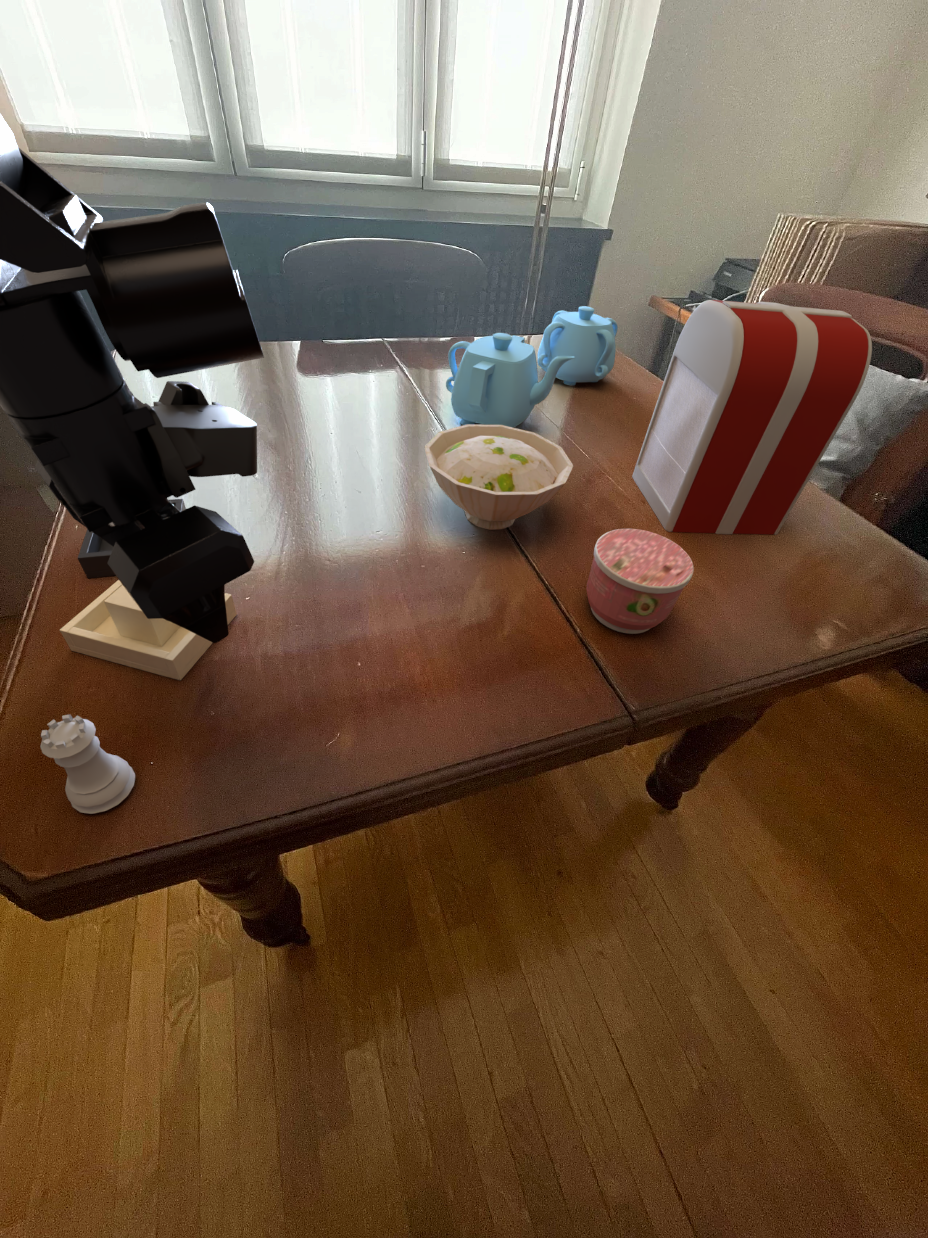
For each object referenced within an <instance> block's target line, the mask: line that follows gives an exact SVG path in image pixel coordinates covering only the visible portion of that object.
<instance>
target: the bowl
mask: <svg viewBox="0 0 928 1238" xmlns="http://www.w3.org/2000/svg"><path fill="white" fill-rule="evenodd" d="M424 451H425V455H426V459H427V461H428V465H429V468H430V470H431V473H432V474H433V477H434V479H435V481H436V483H437V485H438V487H439V488H440V489H441V490H442V492H444V494H445V495H446V496H447V497H448V498H449V499H450V501H452V502H453V504H455V506H457V507H459V508H460V509H462V510H463V511H464V513H465V517H466V520H467V521H468V522H470V523H471V524H473V525H474V526H475V527H477V528H481V529H485V530H489V531H490V530H504V529H506V528H509V527H511V526H513V525H514V522H515V521H516V520H517V519H519V518H521V517H523V516H525V515H528V514H530V513H531V512H533V511H535V510H536V509H539V508H540V507H541V506H543V505H545V504H546V503H548V502H549V501H551V500H552V499H553V498H554V497H555V495H556V494H558V492H559V491H560V490H561V489H562V488H563V486H565V484H566V482H568V481H567V480H568V479H569V476H570V474H571V472H572V470H573V467H574V464H573V463H572V461H571V459H570V457H568V455H567V454H566V451H565V450H564V449H563V447H562V446H560V445H559V444H556V443H554V442H553V441H551V440H549V439H547V438H546V437H543V436H542V435H540V434H538V433H537V432H533V431H530V430H526V429H525V430H524V429H520V428H516V427H508V426H504V425H483V424H474V425H473V424H466V425H460V426H459V425H458V426H456V427H452V428H448V429H445V430H442V431H438V432H437V433H436V434H435V436H433V437H432V439H430V441H429V442H427V443H426V444H425V446H424Z"/></svg>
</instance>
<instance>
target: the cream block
mask: <svg viewBox="0 0 928 1238" xmlns="http://www.w3.org/2000/svg"><path fill="white" fill-rule="evenodd" d="M104 603H105V605H106V607H107V609H108V611H109V613H110V615H111V618H112V620H113V622H114V624H115V626H116V628H117V630H118V632H119V634H120V636H124V637H127V638H131V639H135V640H139V641H142V642H146V643H150V644H154V645H157V646H161V647H162V646H163V645H164V644H165V642H166V641H167V640H168V639H169V638H170V637H171V636H172V635H173V634H174V633H175V632H176V631H177V630H178V629H179V628H180V626H178V625H176V624H174V623H172V622H170V621H167V620H165V619H163V618H161V619H148V618H147V617H146V616H145V614H144V613H143V612H142V610H141V609H140V608H139V606H138V605H137V604H136V602H135V601H134V600H133V598H132V597H131V596H130V594H129V593H128V592H127V590H126V589H125V588H124V586H123V585H122V586H121V587H120V588H118V589H117V590H116V591H115V592H114V593H113V594H111V595H110V596H109V597H108V598H107V599H106V600H105V601H104Z"/></svg>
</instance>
